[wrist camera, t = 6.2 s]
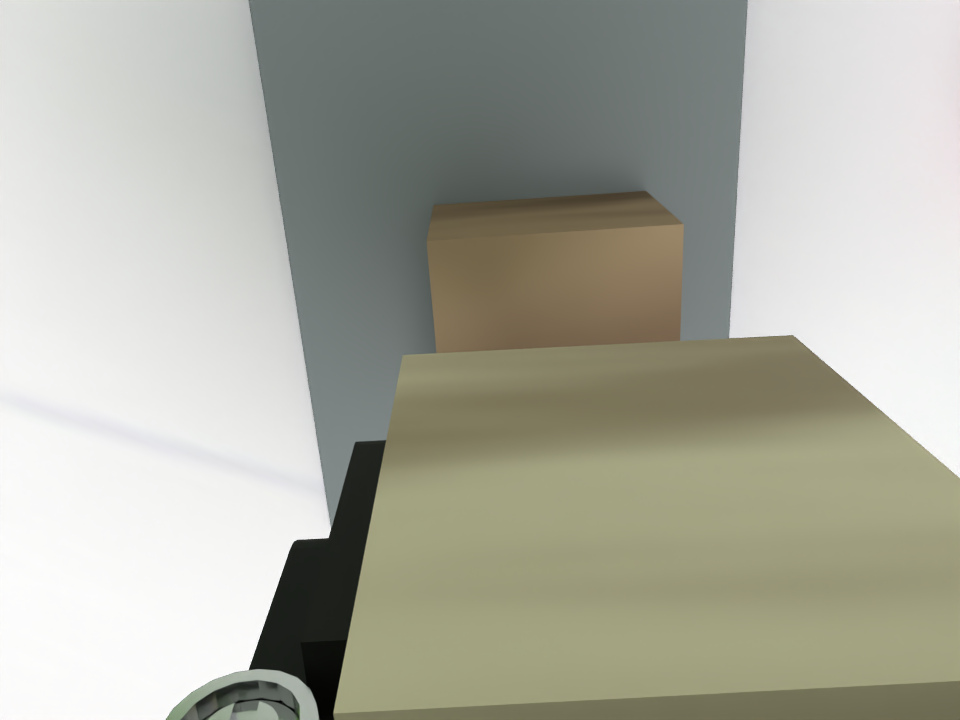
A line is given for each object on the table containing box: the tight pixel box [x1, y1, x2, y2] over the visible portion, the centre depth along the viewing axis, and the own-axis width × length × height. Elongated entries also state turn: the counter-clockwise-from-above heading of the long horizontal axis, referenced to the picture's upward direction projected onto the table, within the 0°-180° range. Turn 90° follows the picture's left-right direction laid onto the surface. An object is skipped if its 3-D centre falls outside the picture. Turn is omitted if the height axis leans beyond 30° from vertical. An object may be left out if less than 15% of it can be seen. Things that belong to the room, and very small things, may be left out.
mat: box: [249, 0, 747, 528], centre depth 27 cm, size 22×15×1 cm
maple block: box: [333, 335, 960, 720], centre depth 8 cm, size 5×5×6 cm
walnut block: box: [427, 191, 684, 353], centre depth 26 cm, size 7×7×5 cm
